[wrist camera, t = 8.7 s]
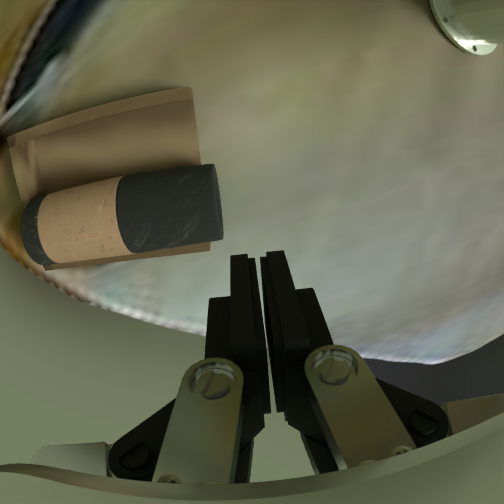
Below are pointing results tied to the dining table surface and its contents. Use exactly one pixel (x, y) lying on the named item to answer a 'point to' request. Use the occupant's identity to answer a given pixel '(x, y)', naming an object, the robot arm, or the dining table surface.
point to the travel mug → (124, 216)
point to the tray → (108, 151)
